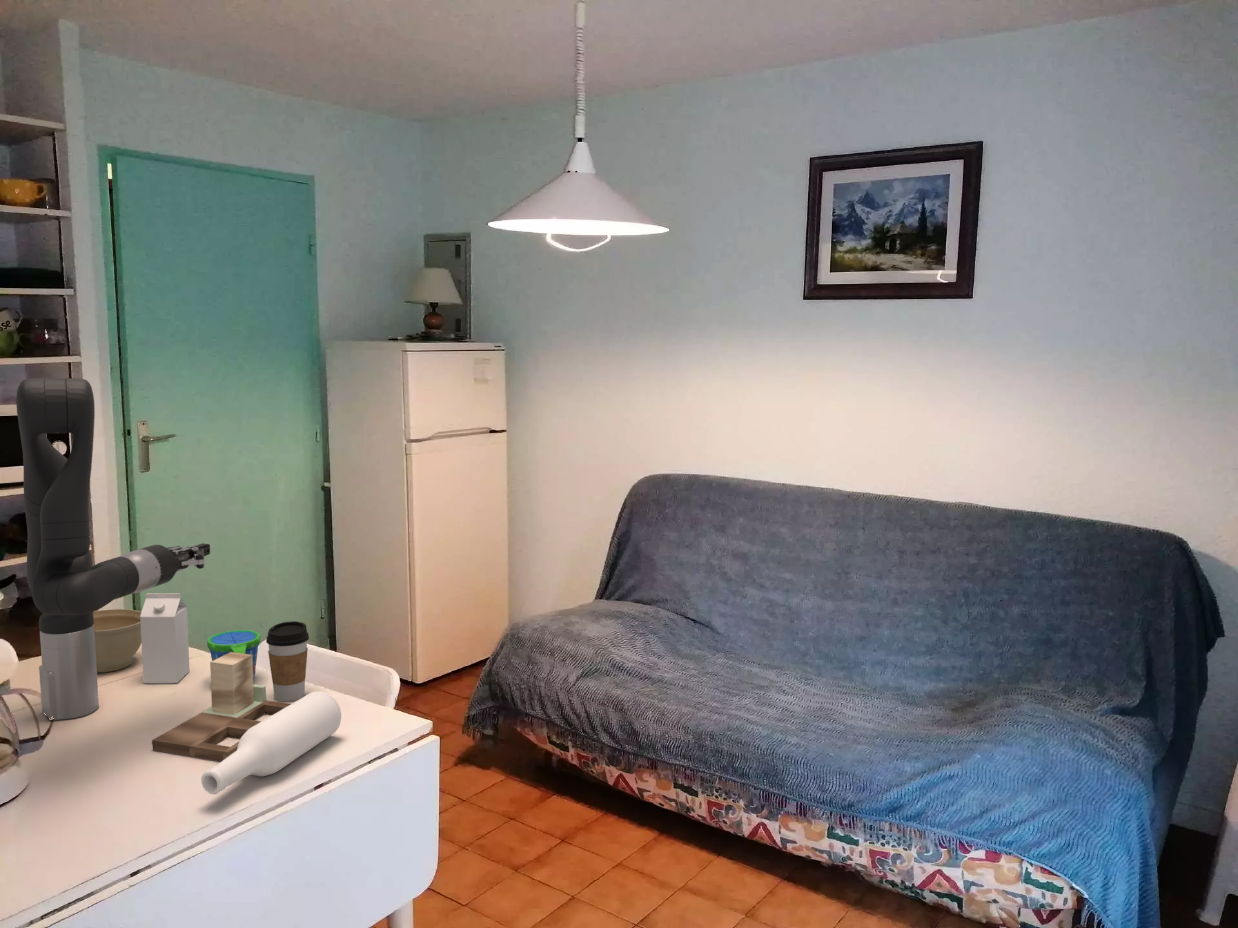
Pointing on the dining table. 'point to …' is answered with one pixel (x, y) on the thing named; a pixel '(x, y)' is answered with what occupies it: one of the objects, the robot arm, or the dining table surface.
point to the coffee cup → (288, 659)
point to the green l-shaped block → (258, 699)
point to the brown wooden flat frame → (212, 733)
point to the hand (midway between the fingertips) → (206, 548)
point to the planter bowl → (116, 638)
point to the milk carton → (164, 638)
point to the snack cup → (234, 644)
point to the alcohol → (277, 741)
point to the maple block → (232, 683)
